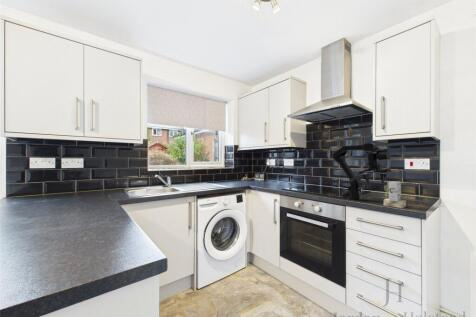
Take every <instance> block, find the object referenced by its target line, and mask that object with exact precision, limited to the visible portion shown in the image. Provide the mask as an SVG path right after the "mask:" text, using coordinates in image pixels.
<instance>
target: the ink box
mask: <svg viewBox="0 0 476 317" xmlns="http://www.w3.org/2000/svg"><path fill="white" fill-rule="evenodd" d="M387 188H388V199H389V201H399V200H402V191H401V190H402V182H401V181H398V180H397V181H394V180H393V181H389V182H388V186H387Z"/></svg>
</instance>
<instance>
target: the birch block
mask: <svg viewBox="0 0 476 317" xmlns="http://www.w3.org/2000/svg"><path fill="white" fill-rule="evenodd" d="M383 206H385V207H386V206H387V207H393V208H399V209H404V208H406V207H407V200H402V199H401V200H399V201H389V197H388V198H384V199H383Z"/></svg>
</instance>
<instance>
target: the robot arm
mask: <svg viewBox="0 0 476 317" xmlns="http://www.w3.org/2000/svg"><path fill="white" fill-rule="evenodd" d="M348 151H351V152H352V151H364V154H363V156H366V159H367V163H366V165H367V166H368V168H366V169H364V168H363V169H359V170H358V174H359V175H361V176H362V177H363V179H365V182H366V183H367V184H369V185H370V183H371V182H370V176H369V175H370V173H379V175H380V180H381V184H382V185H384V183H385V180H386V177H387V175H388V174H390V173H392V169H391V168H390V167H385V168H384V165H382V164H380V162H379V161H388V160H391V159H392V158H391V156H392V154H391V152H390V151H389V149H388V148H387V149H383V150H382V149H380V148H379V147H378V145H377V144H376V143H374V142H373V143H371V142H367V143H363V144H358V145H357V144H356V145H342V146H341V147H340V148H339V149H337V150H336V151H335V152H334V153H333V154H332V159H333V160H334V161H335V162H336V163H338V164H339V165H340V167H341V169H342V171H344V173H345V175H346V177H347V179H348V180H349V186H348V187H347V188H346V189H347V192H349V194H348V200H353V201H359V200H361V198H362V196H361V194H362V193H361V191H362V189H364V181H363V180H362V178H361V177H356V175H355V174H354V172H353V171H352V169H351V168H350V166H349V164H348V163H347V161H346V157H345V156H346V155H347V154H348Z"/></svg>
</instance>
